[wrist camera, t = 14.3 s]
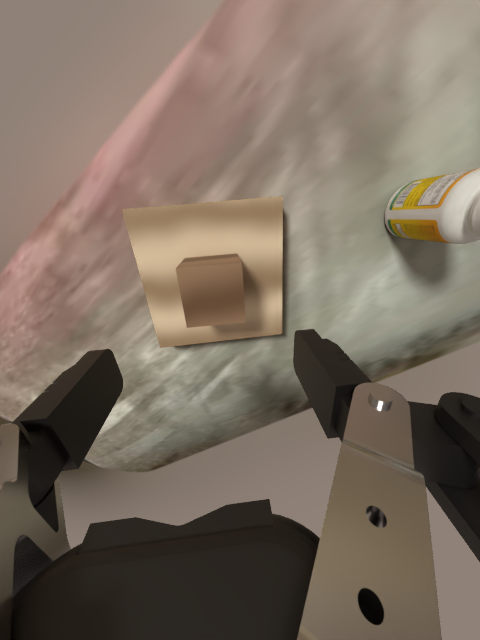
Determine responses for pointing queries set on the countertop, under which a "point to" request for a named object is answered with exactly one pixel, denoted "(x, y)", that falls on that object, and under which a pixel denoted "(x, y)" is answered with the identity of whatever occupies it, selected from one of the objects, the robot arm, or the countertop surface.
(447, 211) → the supplement bottle
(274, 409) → the countertop surface
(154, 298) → the maple block
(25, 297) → the countertop surface
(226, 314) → the walnut cube
